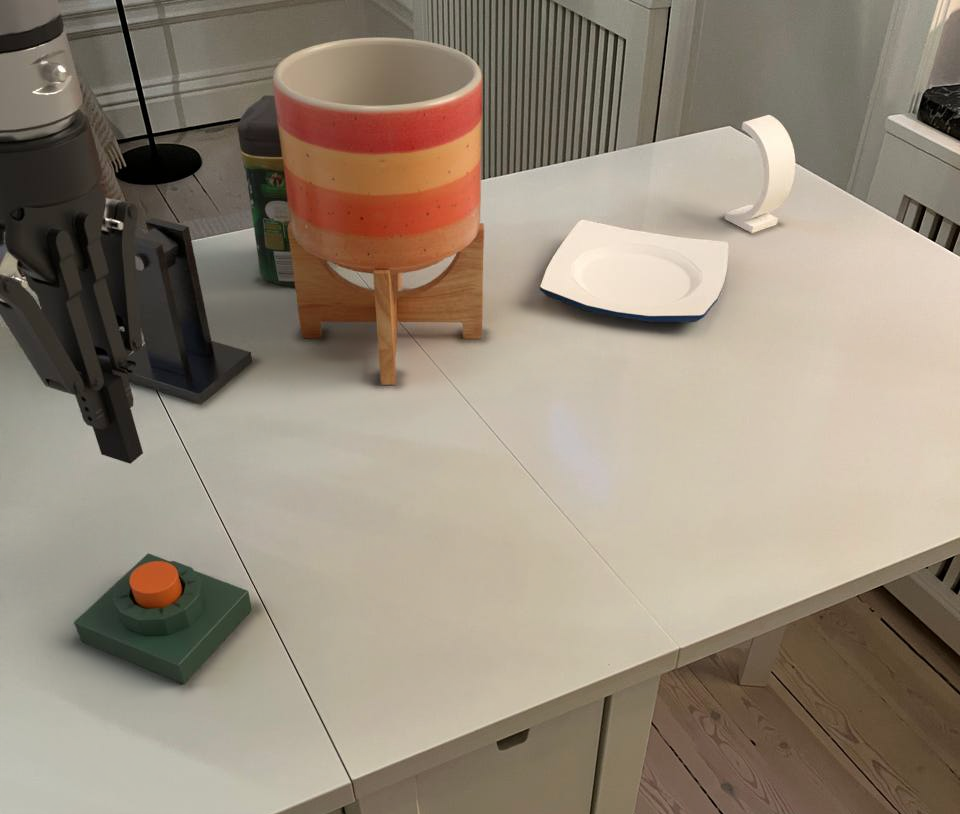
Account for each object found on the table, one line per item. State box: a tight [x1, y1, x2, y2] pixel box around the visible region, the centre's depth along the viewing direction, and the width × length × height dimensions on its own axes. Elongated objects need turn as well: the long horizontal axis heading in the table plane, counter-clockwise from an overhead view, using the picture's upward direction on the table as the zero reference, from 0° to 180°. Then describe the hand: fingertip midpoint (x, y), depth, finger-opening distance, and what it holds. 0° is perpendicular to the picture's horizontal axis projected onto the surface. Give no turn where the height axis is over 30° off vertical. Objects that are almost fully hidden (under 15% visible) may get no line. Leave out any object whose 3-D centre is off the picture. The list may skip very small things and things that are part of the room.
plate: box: [539, 219, 730, 323], centre depth 120 cm, size 20×20×3 cm
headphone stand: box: [724, 114, 796, 234], centre depth 128 cm, size 5×6×12 cm
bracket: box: [127, 217, 254, 405], centre depth 102 cm, size 11×9×15 cm
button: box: [129, 561, 182, 609], centre depth 78 cm, size 4×4×2 cm
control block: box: [73, 553, 253, 685], centre depth 80 cm, size 10×9×4 cm
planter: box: [272, 37, 485, 386], centre depth 102 cm, size 20×20×27 cm
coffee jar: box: [237, 94, 328, 286], centre depth 116 cm, size 10×8×19 cm
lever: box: [134, 226, 178, 268], centre depth 97 cm, size 13×6×2 cm, turn 64°
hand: (122, 453), depth 76 cm, fingers closed
